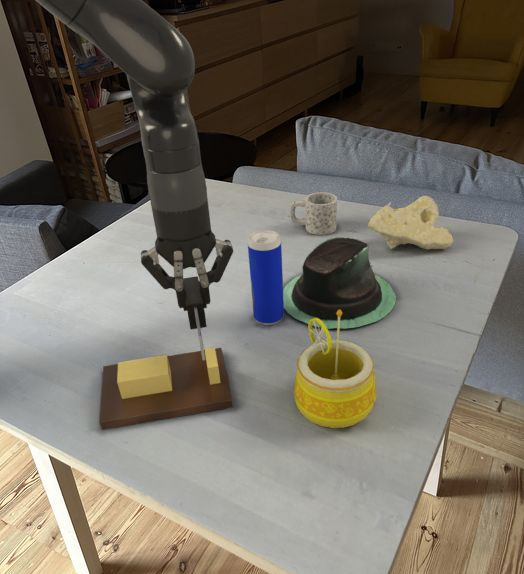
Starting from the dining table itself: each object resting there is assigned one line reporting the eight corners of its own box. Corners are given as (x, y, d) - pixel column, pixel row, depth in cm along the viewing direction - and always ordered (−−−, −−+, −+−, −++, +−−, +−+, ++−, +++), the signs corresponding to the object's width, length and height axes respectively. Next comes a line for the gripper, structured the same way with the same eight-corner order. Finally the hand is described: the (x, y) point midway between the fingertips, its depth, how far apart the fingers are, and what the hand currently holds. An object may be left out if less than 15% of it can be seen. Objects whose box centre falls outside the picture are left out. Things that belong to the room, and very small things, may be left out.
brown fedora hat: (307, 254, 105) (408, 274, 98) (274, 337, 99) (380, 364, 93) (293, 206, 92) (410, 224, 85) (255, 298, 86) (377, 327, 79)
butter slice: (210, 384, 76) (207, 367, 74) (207, 365, 79) (204, 348, 77) (220, 383, 76) (218, 365, 74) (217, 363, 79) (214, 346, 77)
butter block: (122, 399, 75) (117, 382, 73) (122, 379, 78) (117, 362, 76) (172, 390, 75) (168, 373, 73) (170, 371, 79) (167, 354, 77)
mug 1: (338, 221, 118) (339, 192, 114) (334, 235, 113) (335, 205, 109) (293, 219, 120) (292, 191, 116) (287, 233, 115) (286, 203, 111)
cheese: (445, 241, 112) (395, 190, 111) (467, 227, 105) (414, 172, 104) (403, 289, 108) (351, 235, 107) (424, 277, 101) (368, 220, 100)
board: (101, 430, 72) (98, 422, 71) (105, 373, 81) (103, 366, 81) (233, 407, 74) (232, 399, 73) (222, 354, 83) (221, 347, 83)
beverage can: (261, 306, 93) (256, 227, 84) (288, 312, 92) (286, 232, 82) (248, 322, 90) (241, 241, 81) (276, 329, 88) (272, 247, 79)
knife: (186, 301, 86) (182, 278, 84) (201, 298, 86) (197, 275, 84) (194, 361, 70) (190, 335, 68) (213, 359, 70) (209, 332, 68)
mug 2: (374, 438, 68) (382, 366, 61) (289, 430, 70) (287, 359, 63) (375, 373, 78) (382, 304, 71) (301, 367, 80) (300, 300, 73)
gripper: (125, 215, 67) (150, 327, 78) (234, 202, 69) (243, 313, 79) (126, 193, 73) (148, 300, 84) (226, 181, 75) (236, 287, 85)
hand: (195, 306), depth 82 cm, fingers closed on knife, 2 cm apart
